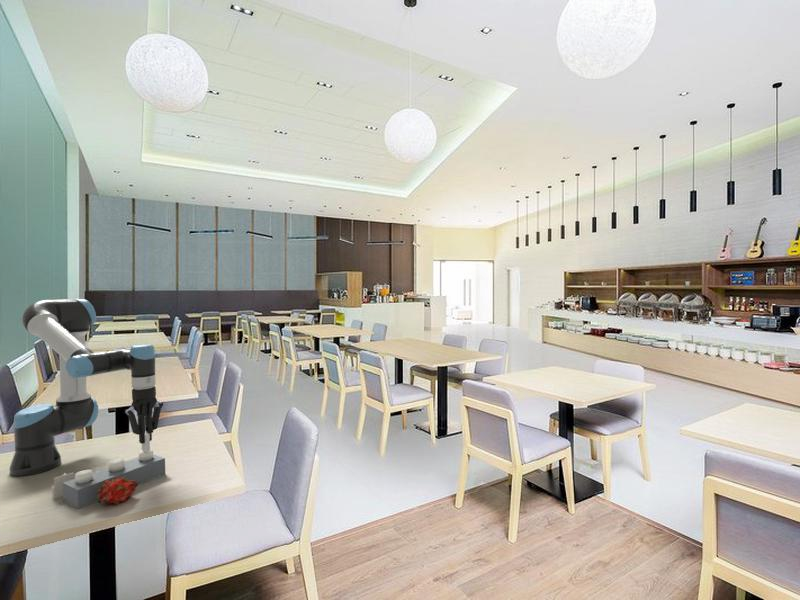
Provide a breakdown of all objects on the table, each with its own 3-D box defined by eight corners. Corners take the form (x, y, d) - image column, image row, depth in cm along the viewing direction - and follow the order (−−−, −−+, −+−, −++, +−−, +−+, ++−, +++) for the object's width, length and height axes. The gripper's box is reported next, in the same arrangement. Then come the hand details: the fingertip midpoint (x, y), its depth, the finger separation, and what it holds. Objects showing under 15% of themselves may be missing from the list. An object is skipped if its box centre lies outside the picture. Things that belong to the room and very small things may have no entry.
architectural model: (50, 497, 142) (50, 475, 142) (76, 489, 148) (75, 468, 148) (54, 500, 140) (53, 478, 140) (79, 492, 146) (78, 470, 146)
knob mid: (106, 485, 148) (106, 462, 147) (121, 480, 152) (120, 457, 151) (113, 488, 145) (113, 465, 145) (128, 482, 149) (127, 460, 149)
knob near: (73, 498, 139) (72, 473, 139) (89, 492, 143) (88, 468, 143) (80, 501, 137) (79, 476, 137) (96, 495, 141) (95, 471, 140)
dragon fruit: (92, 514, 134) (135, 504, 143) (101, 504, 130) (144, 495, 139) (90, 486, 138) (132, 479, 147) (99, 476, 134) (141, 469, 143)
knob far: (136, 474, 156) (136, 452, 156) (149, 469, 160) (148, 448, 160) (143, 476, 154) (143, 455, 154) (156, 471, 158) (155, 450, 158)
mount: (63, 501, 139) (62, 482, 139) (149, 468, 163) (149, 453, 163) (78, 508, 134) (77, 489, 134) (165, 474, 158) (164, 458, 158)
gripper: (130, 392, 149) (133, 459, 149) (167, 384, 160) (169, 446, 161) (119, 389, 152) (121, 455, 153) (155, 382, 164) (157, 443, 164)
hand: (145, 450), depth 157 cm, fingers closed
